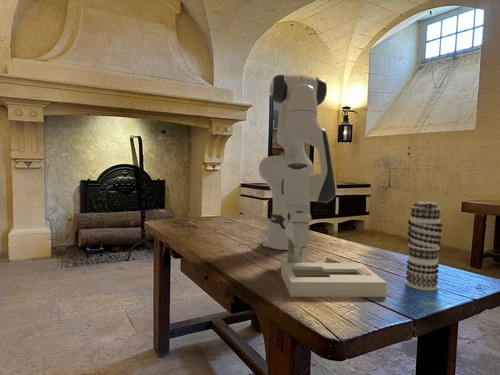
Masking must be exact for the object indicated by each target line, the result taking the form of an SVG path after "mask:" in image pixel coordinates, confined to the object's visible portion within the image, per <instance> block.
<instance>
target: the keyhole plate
mask: <svg viewBox="0 0 500 375" xmlns="http://www.w3.org/2000/svg"><path fill="white" fill-rule="evenodd" d="M280 276H281V278H282V280H283V282H284V285H285V287H286V290H287V291H288V295H289V296H290V298H294V297H295V298H299V297H300V298H308V297H309V298H319V297H320V298H326V297H327V298H387V283H388V282H387V281H386V280H384V279H383V278H382V277H380V276H379V275H378V274H376V273H375V272H374V271H372V270H371V269H370V268H368V267H367V266H366V265H364V264H363V263H362V262H340V263H325V262H302V263H287V262H280Z"/></svg>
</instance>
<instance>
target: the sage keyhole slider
mask: <svg viewBox="0 0 500 375" xmlns="http://www.w3.org/2000/svg"><path fill="white" fill-rule="evenodd" d="M293 251H294V244H293V243H292V242H291V240H290V239H289V238H288V250H287V260H286V261H287V262H286V263H303V247H301V249H300V256H299V257H294V255H293Z"/></svg>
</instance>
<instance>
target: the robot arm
mask: <svg viewBox="0 0 500 375" xmlns="http://www.w3.org/2000/svg"><path fill="white" fill-rule="evenodd" d="M327 93H328V88H327V82H326V81H325V79H323V78H321V77H312V76H309V75H296V74H295V75H292V74H291V75H287V74H286V75H284V74H278V75H275V76H274V77H273V78H272V81H271V82H270V85H269V96H270V98H271V100H272V101H273V102H275V103H278V104H280V107H279V111H278V112H279V113H278V118H277V119H278V120H277V129H276V141H277V143H278V145H279V146H281V147H282V149H284V153H285V154H284V155H272V156H271V155H270V156H265V157H263V158H262V159H261V161H260V163H259V166H258V172H259V175H260V177H261V179H262V180H264V181H265V183H267V185H268V187H269V189H270V191H271V195H272V213H271V217H270V218H271V219H270V221H271V223H270V225H268V228H266V229H265V235H266V237H265V239H264V240H263V243H262V246H263V247H264V248H269V249H275V250H281V251H288V238H289V239H290V240H291V242H292V243H293V244H294V251H293V255H294V257H299V256H300V249H301V247H302V248H306V247H307V246H308V243H309V234H310V223H311V222H312V215H311V202H317V203H323V204H328V203H329V202H331V201H333V200H334V199H335V198H336V195H337V190H338V187H337V182H336V178H335V175H334V170H333V163H332V156H331V148H330V144H329V138H328V134H327V131H326V129H325V128H323V127H322V126H321V124H320V123H319V119H318V106H319V105H322V103H324V101H325V100H326V96H327ZM304 143H306V144H308V145H310V146H312V147H314V148H315V149H316V150H317V152H318V158H319V166H320V173H314V165H313V164H314V163H313V162H312V160H311V159H310V158H309V157H308V155H307V154H306V150H305V146H304Z"/></svg>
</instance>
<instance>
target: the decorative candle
mask: <svg viewBox="0 0 500 375" xmlns="http://www.w3.org/2000/svg"><path fill="white" fill-rule="evenodd" d="M410 208H411V210H410V214H411V215H410V219H408V220H407V224H408V227H407V231H408V232H407V236H408V238H407V242H408V243H407V246H408V247H409V249H408V252H409V253H408V255H407V256H408V258H407V260H406V264H408V265H406V269H407V270H406V272H405V274H406V276H405V279H406V281H405V284H406V286H408V287H410V288H414V289H416V290H422V291H427V292H428V291H435V290H438V283H439V281H438V279H439V275H438V273H439V269H438V268H439V267H440V264H438V262H439V258H438V253H439V252H438V251H439V250H440V248H441V247H440V246H438V245H440V244H441V243H442V242H441V241H440V239H442V236H441V235H439V233H442V231H443V230H442V229H441V228H442V227H443V224H442V223H441V209H442V207H439V205H438V204H437V202H432V201H415V202H414V203H413V205H410Z"/></svg>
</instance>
